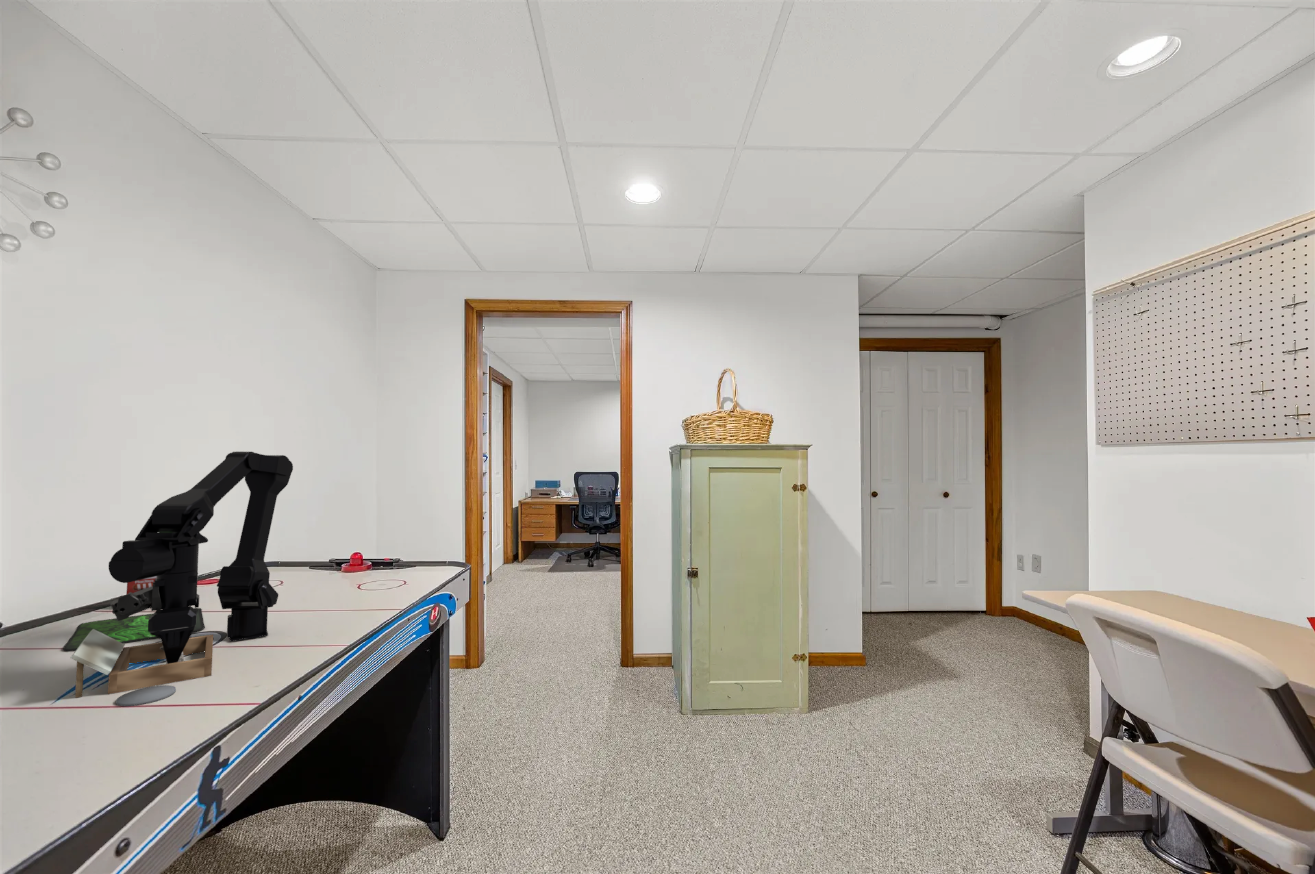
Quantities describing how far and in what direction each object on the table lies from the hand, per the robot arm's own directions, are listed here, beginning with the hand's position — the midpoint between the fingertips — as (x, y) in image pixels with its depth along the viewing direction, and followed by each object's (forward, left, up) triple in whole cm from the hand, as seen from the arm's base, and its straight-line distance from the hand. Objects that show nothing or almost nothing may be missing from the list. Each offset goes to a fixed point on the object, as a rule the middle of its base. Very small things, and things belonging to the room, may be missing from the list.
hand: (173, 658), depth 101 cm
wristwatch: (0, 0, -2) cm, 2 cm away
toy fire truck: (+6, -61, -2) cm, 61 cm away
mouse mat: (+7, -38, -2) cm, 39 cm away
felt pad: (+2, +13, -2) cm, 14 cm away
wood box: (+3, 0, -2) cm, 4 cm away
